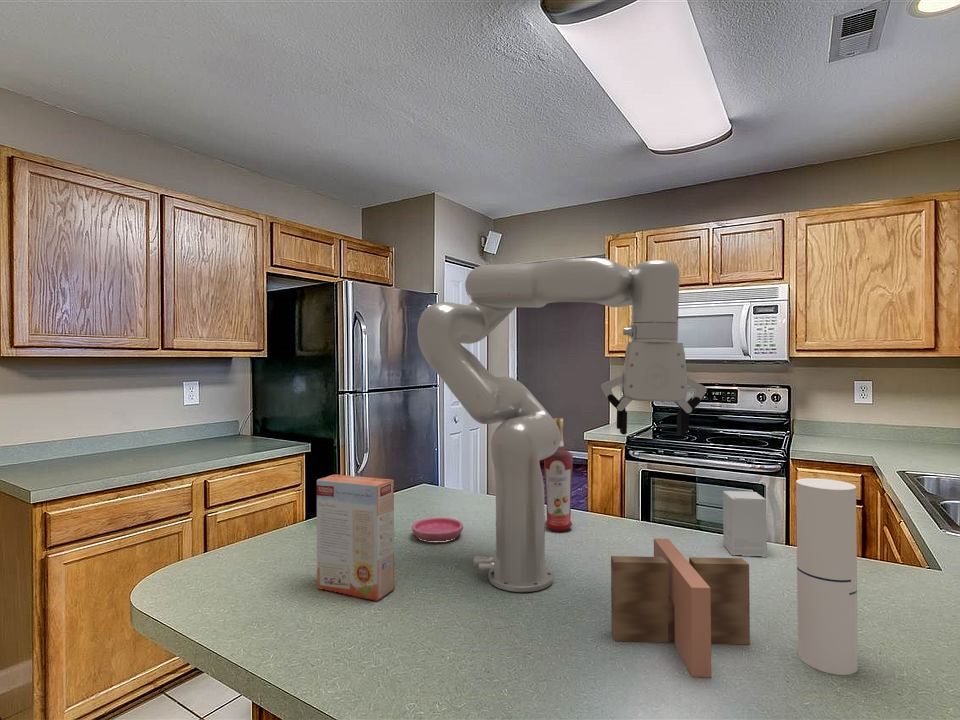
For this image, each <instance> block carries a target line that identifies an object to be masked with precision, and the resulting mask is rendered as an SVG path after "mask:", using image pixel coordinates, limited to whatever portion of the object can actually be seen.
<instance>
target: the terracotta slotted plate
mask: <svg viewBox="0 0 960 720" xmlns="http://www.w3.org/2000/svg"><path fill="white" fill-rule="evenodd" d="M653 557H663V558H664V559H665V560H666V562H667V569H668V596H669V597H670V599H671V601H672V602H673V604H674V616H675V643H674V646H675V648H676V650H677V653H679V656H680V657H681V659H682V661H683V663H684V664H685V667H686V668H687V670H688V672H689V674H690V675H691V677H693V678H712V644H711V588H710V587H709V586H708V584H707V583H706V582H705V581H704V580H703V579H702V577H701V576H700V575H699V574H698V573H697V572H696V570H695V569H694V568H693V567H692V566H691V565H690V563H689V560H687V559H686V557H685V556H683V553H681V551H679V549H678V548H677V547H676V546H675V545H674V544H673V543H672V540H670V539H669V538H653Z"/></svg>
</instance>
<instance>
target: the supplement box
mask: <svg viewBox="0 0 960 720" xmlns="http://www.w3.org/2000/svg"><path fill="white" fill-rule="evenodd" d="M722 517H723V520H722V521H723V522H722V523H723V524H722V526H723V527H722V529H723V531H722V532H723V533H722V534H723V536H722V537H723V538H722V540H723V543H722V544H723V546H724V547H725V548H726V550H727V551H728V552H729V553H730V555H731V556H735V555H742V556H741V557H750V556H762V557H761V558H767V556H768V539H767V538H768V537H767V536H768V535H767V531H768V529H767V528H768V527H767V526H768V525H767V523H768V522H767V499H766V498H765V497H763V496H762V495H760V494H759V493H758V492H756V491H745V490H744V491H742V490H740V491H739V490H723V491H722Z"/></svg>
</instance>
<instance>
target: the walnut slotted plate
mask: <svg viewBox="0 0 960 720" xmlns="http://www.w3.org/2000/svg"><path fill="white" fill-rule="evenodd" d="M688 562H689V563H690V565H691V566H692V567H693V568H694V569H695V570H696V572H697V573H698V574H699V575H700V576H701V577H702V579H703V580H704V581H705V582H706V583H707V584H708V586H709V587H710V588H711V645H712V644H716V645H717V644H718V645H750V644H751V629H750V628H751V627H750V626H751V622H750V621H751V620H750V619H751V618H750V617H751V615H750V612H751V611H750V609H751V608H750V606H751V605H750V600H751V599H750V563H748V562H747V561H746V560H745V559H744V558H742V557H696V556H695V557H693V556H691V557H690V556H689V558H688ZM610 593H611V594H610V597H611V598H610V599H611V601H610V602H611V604H610V606H611V607H610V608H611V609H610V611H611V614H610V616H611V618H610V620H611V635H612V638H613V640H614V642H638V643H639V642H640V643H641V642H642V643H645V642H646V643H673V644H675V616H674V604H673V602H672V601H671V599H670V597H669V596H668V569H667V562H666V560H665V559H664V558H663V557H654V556H631V555H630V556H628V555H627V556H624V555H622V556H621V555H611V556H610Z"/></svg>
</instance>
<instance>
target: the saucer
mask: <svg viewBox="0 0 960 720" xmlns="http://www.w3.org/2000/svg"><path fill="white" fill-rule="evenodd" d="M463 529H464V523H463V522H461V521H460V520H458V519H456V518H452V517H451V518H450V517H428V518H423V519H420V520H418V521H417V520H416V522H414V523H413V524H412V526H411V531H412V533H413V534H414V535H415V536H416V537H417V538H418V539H419V538H420V539H422V540H426V541H446V540H451V539H454V538H456V537H457V538H458V536H459V535H461V532H462V531H463ZM457 538H456V539H457ZM420 539H419V540H420ZM454 540H455V539H454Z"/></svg>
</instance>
